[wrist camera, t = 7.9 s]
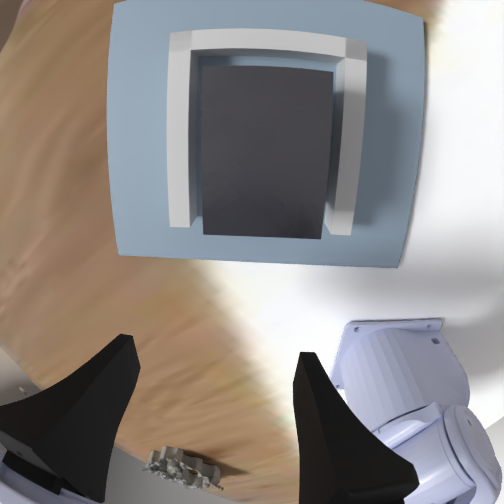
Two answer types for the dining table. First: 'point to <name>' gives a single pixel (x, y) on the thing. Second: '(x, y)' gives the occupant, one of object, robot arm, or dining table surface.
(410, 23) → the coupler cradle
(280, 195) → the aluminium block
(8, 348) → the dining table surface
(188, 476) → the egg carton
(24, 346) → the dining table surface
